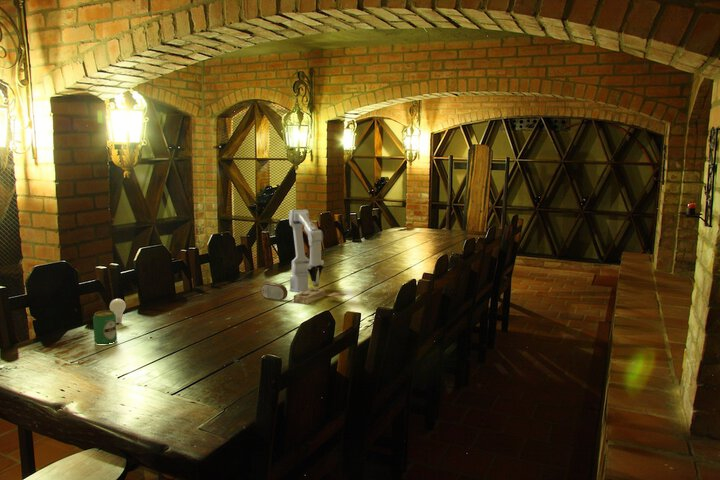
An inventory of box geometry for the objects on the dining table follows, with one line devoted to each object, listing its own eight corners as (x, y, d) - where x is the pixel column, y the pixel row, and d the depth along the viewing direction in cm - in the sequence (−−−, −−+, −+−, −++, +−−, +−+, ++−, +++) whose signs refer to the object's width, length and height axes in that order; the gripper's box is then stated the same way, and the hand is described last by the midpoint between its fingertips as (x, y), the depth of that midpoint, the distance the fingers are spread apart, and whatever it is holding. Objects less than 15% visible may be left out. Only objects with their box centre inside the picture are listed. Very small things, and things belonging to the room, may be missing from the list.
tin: (287, 300, 279) (287, 284, 278) (284, 302, 276) (284, 285, 275) (263, 296, 285) (263, 281, 284) (259, 298, 282) (259, 282, 281)
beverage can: (102, 347, 209) (100, 317, 207) (90, 343, 213) (88, 313, 212) (121, 341, 216) (119, 312, 214) (109, 337, 220) (107, 308, 218)
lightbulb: (111, 326, 234) (109, 301, 232) (110, 322, 239) (108, 297, 238) (127, 324, 237) (125, 299, 235) (126, 320, 242) (124, 296, 240)
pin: (312, 286, 279) (312, 268, 277) (314, 285, 282) (314, 266, 280) (317, 286, 278) (317, 268, 276) (319, 285, 281) (319, 267, 279)
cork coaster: (326, 296, 288) (326, 295, 288) (334, 293, 295) (334, 292, 295) (340, 298, 284) (340, 297, 284) (347, 294, 291) (347, 294, 291)
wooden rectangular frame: (293, 302, 275) (293, 295, 275) (311, 294, 291) (312, 287, 291) (307, 304, 272) (307, 297, 271) (325, 296, 288) (325, 289, 287)
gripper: (315, 257, 269) (315, 284, 271) (329, 252, 282) (329, 278, 284) (302, 256, 272) (302, 282, 274) (317, 251, 285) (317, 276, 287)
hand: (315, 280), depth 279 cm, fingers closed on pin, 3 cm apart
